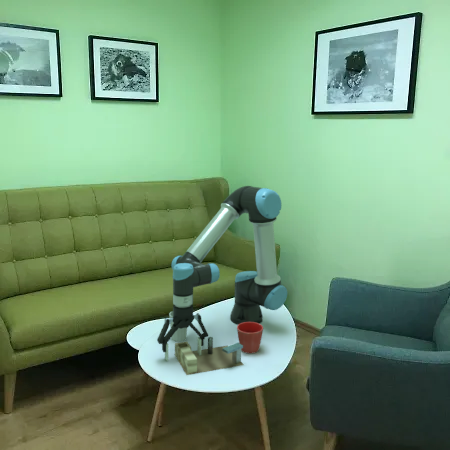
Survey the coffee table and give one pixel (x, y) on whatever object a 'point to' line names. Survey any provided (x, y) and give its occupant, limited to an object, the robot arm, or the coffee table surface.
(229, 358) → the board
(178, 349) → the link
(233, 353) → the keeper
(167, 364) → the coffee table surface
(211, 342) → the pin
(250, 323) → the flower pot
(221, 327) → the coffee table surface
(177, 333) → the cup
